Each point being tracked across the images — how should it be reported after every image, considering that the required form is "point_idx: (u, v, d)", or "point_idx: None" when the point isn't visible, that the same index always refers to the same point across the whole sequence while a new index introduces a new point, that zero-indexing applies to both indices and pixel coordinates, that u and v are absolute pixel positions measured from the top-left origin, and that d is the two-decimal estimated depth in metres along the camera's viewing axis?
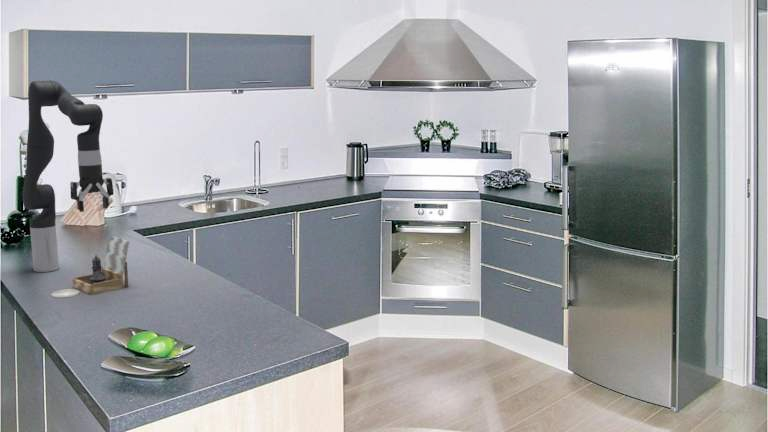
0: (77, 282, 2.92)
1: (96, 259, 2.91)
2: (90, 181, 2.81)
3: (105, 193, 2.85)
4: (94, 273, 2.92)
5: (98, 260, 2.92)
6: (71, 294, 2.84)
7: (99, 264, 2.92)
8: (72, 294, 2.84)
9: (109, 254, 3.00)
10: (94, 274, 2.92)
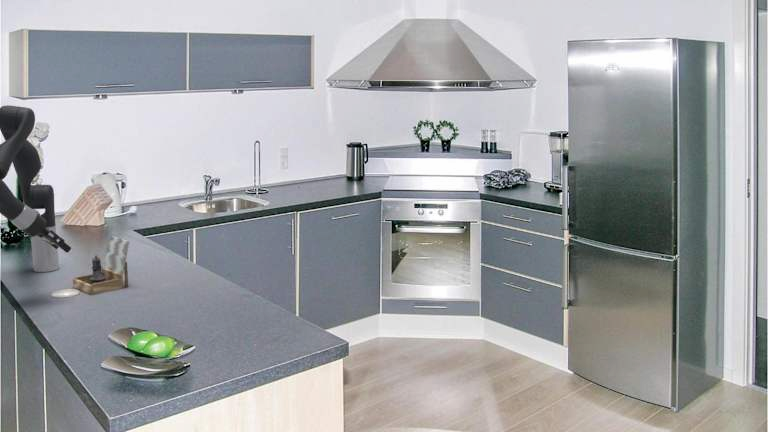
0: (77, 282, 2.92)
1: (96, 259, 2.91)
2: (38, 233, 2.78)
3: (55, 244, 2.77)
4: (94, 273, 2.92)
5: (98, 260, 2.92)
6: (71, 294, 2.84)
7: (99, 264, 2.92)
8: (72, 294, 2.84)
9: (109, 254, 3.00)
10: (94, 274, 2.92)
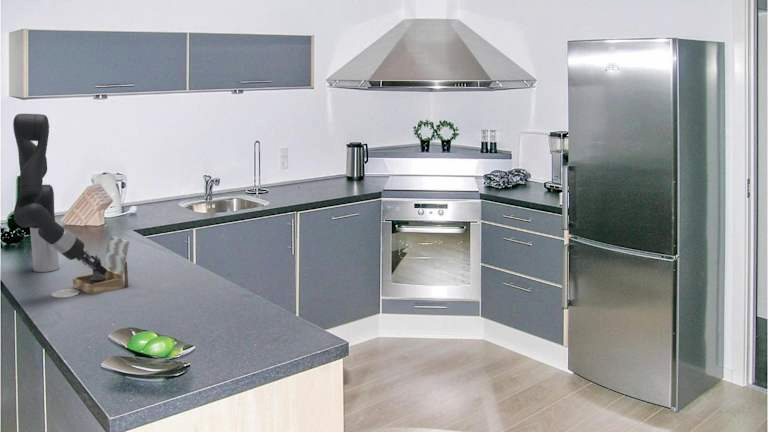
0: (77, 282, 2.92)
1: None
2: None
3: (92, 266, 2.89)
4: (94, 273, 2.92)
5: (98, 260, 2.92)
6: (71, 294, 2.84)
7: None
8: (72, 294, 2.84)
9: (109, 254, 3.00)
10: (94, 274, 2.92)
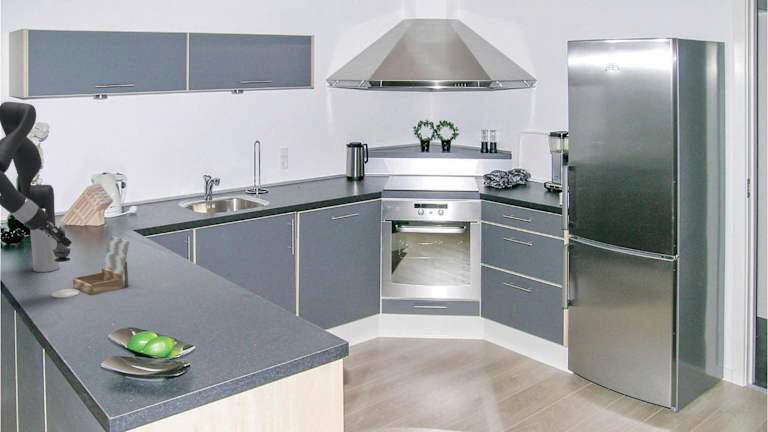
0: (77, 282, 2.92)
1: None
2: (39, 226, 2.78)
3: (55, 238, 2.79)
4: (58, 245, 2.82)
5: (62, 231, 2.81)
6: (71, 294, 2.84)
7: None
8: (72, 294, 2.84)
9: (109, 254, 3.00)
10: (58, 245, 2.81)
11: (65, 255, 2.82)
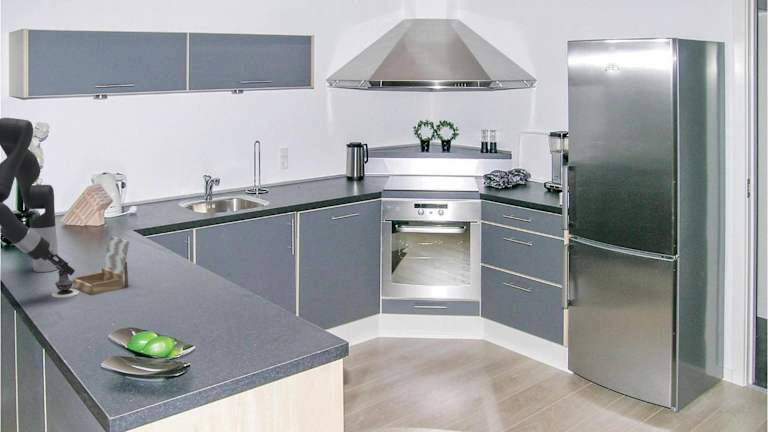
0: (77, 282, 2.92)
1: (62, 263, 2.83)
2: None
3: (58, 267, 2.80)
4: (60, 278, 2.84)
5: None
6: (71, 294, 2.84)
7: None
8: (72, 294, 2.84)
9: (109, 254, 3.00)
10: (60, 278, 2.83)
11: (67, 288, 2.84)
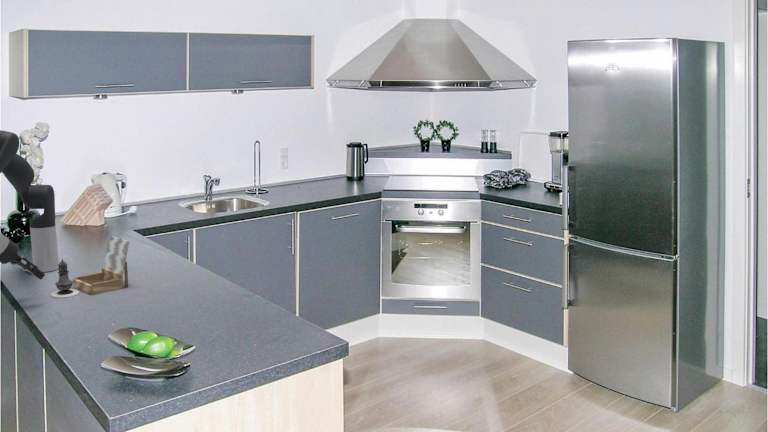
0: (77, 282, 2.92)
1: (62, 263, 2.83)
2: (11, 260, 2.72)
3: (28, 270, 2.71)
4: (60, 278, 2.84)
5: (64, 264, 2.83)
6: (71, 294, 2.84)
7: (65, 268, 2.84)
8: (72, 294, 2.84)
9: (109, 254, 3.00)
10: (60, 278, 2.84)
11: (67, 288, 2.84)
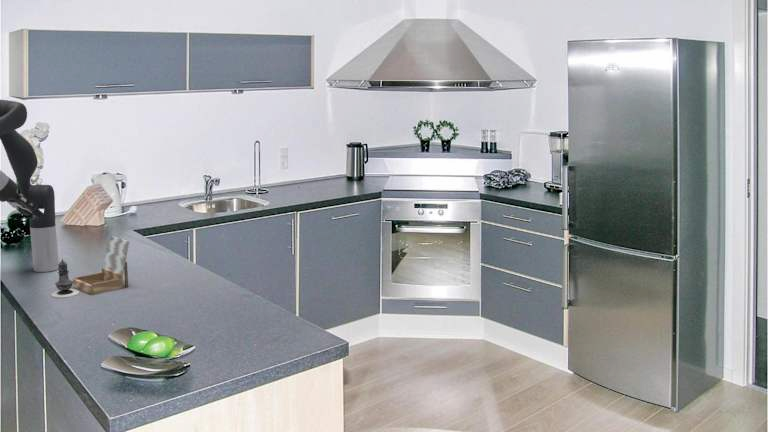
0: (77, 282, 2.92)
1: (62, 263, 2.83)
2: (9, 198, 2.71)
3: (27, 209, 2.71)
4: (60, 278, 2.84)
5: (64, 264, 2.83)
6: (71, 294, 2.84)
7: (65, 268, 2.84)
8: (72, 294, 2.84)
9: (109, 254, 3.00)
10: (60, 278, 2.84)
11: (67, 288, 2.84)
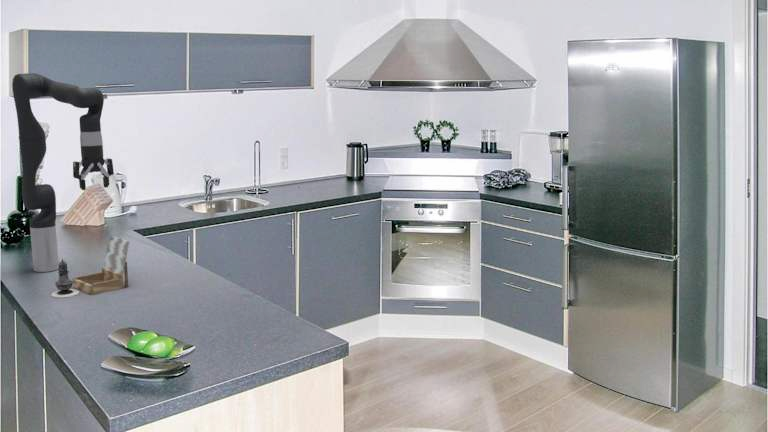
0: (77, 282, 2.92)
1: (62, 263, 2.83)
2: (92, 161, 2.96)
3: (106, 173, 3.00)
4: (60, 278, 2.84)
5: (64, 264, 2.83)
6: (71, 294, 2.84)
7: (65, 268, 2.84)
8: (72, 294, 2.84)
9: (109, 254, 3.00)
10: (60, 278, 2.84)
11: (67, 288, 2.84)
